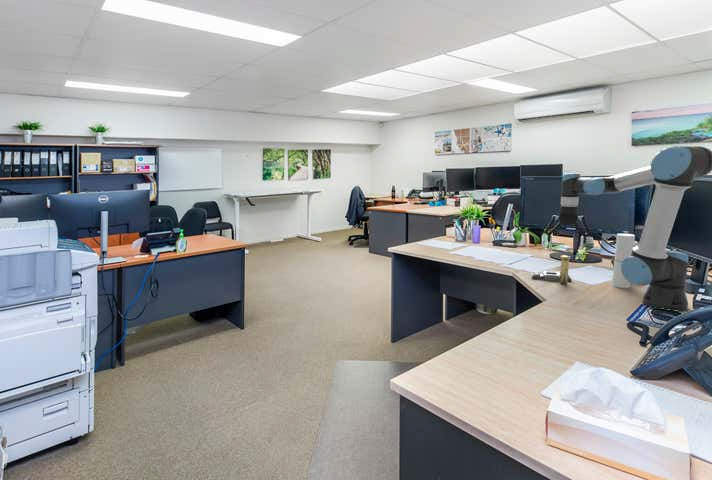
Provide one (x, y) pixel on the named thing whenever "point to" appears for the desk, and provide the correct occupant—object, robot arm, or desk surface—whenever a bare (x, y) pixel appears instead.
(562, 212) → the robot arm
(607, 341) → the desk surface
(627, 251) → the cylindrical container
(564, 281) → the link pin
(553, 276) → the chain ends
